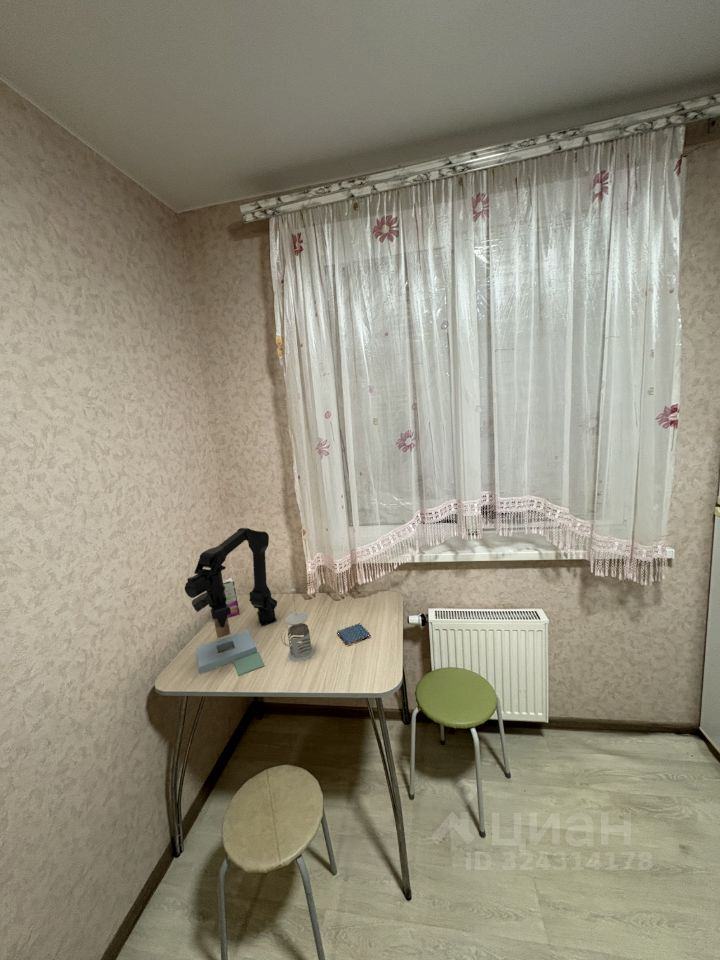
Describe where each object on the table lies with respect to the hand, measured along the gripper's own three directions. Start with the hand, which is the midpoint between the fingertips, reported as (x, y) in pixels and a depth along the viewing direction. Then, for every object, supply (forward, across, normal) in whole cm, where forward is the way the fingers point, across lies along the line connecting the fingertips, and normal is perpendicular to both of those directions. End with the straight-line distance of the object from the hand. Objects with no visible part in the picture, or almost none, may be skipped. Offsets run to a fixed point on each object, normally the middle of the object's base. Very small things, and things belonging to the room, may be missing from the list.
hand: (221, 624), depth 141 cm
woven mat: (+12, +18, +44) cm, 50 cm away
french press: (+12, +17, +23) cm, 31 cm away
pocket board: (+12, 0, 0) cm, 12 cm away
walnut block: (+4, 0, 0) cm, 4 cm away
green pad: (+12, +12, +6) cm, 18 cm away
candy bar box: (+12, -30, +4) cm, 33 cm away
